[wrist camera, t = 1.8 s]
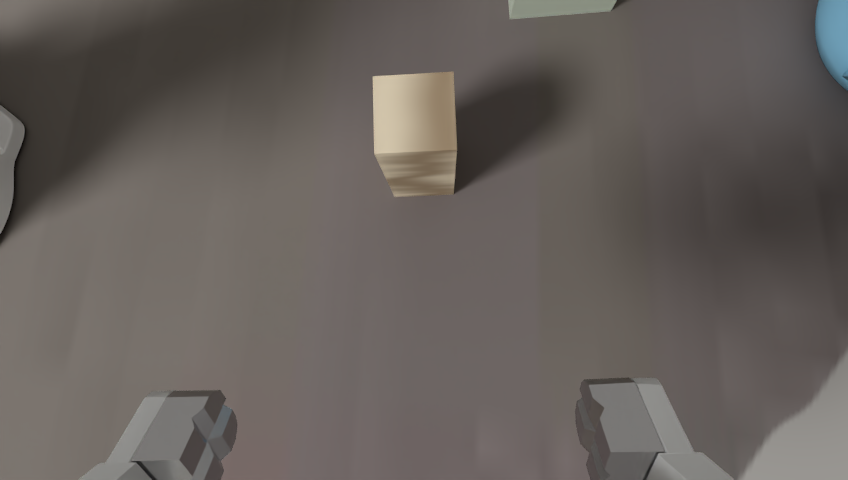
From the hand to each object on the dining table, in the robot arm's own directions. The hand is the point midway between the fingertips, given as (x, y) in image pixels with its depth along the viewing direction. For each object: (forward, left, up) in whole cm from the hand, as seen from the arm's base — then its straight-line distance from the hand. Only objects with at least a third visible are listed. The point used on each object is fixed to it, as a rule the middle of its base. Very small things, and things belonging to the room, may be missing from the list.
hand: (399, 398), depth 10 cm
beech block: (-10, +8, -23) cm, 26 cm away
